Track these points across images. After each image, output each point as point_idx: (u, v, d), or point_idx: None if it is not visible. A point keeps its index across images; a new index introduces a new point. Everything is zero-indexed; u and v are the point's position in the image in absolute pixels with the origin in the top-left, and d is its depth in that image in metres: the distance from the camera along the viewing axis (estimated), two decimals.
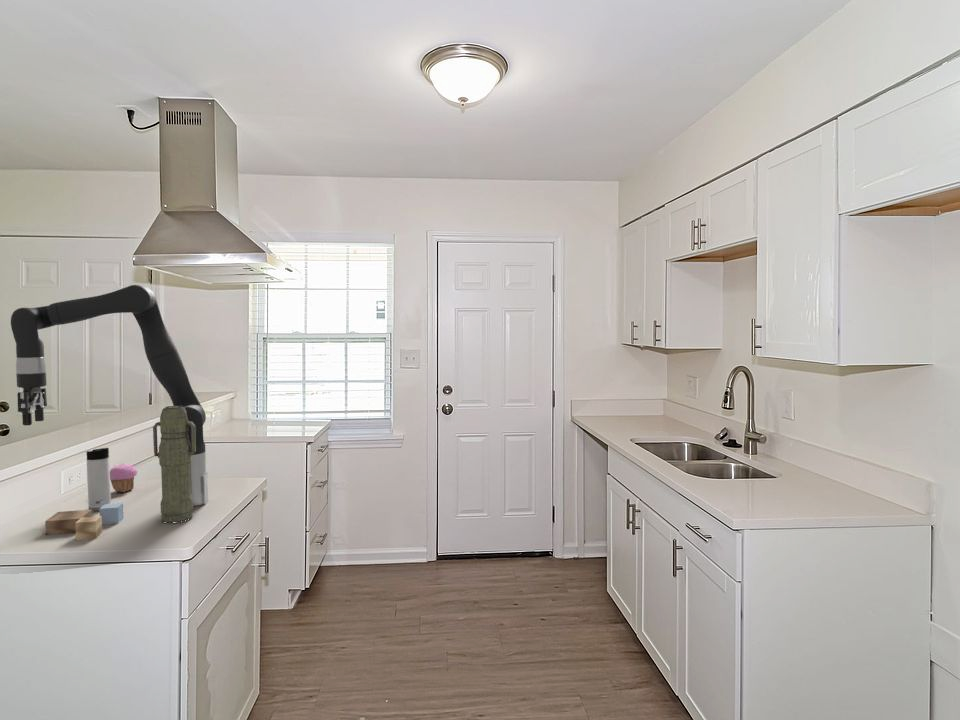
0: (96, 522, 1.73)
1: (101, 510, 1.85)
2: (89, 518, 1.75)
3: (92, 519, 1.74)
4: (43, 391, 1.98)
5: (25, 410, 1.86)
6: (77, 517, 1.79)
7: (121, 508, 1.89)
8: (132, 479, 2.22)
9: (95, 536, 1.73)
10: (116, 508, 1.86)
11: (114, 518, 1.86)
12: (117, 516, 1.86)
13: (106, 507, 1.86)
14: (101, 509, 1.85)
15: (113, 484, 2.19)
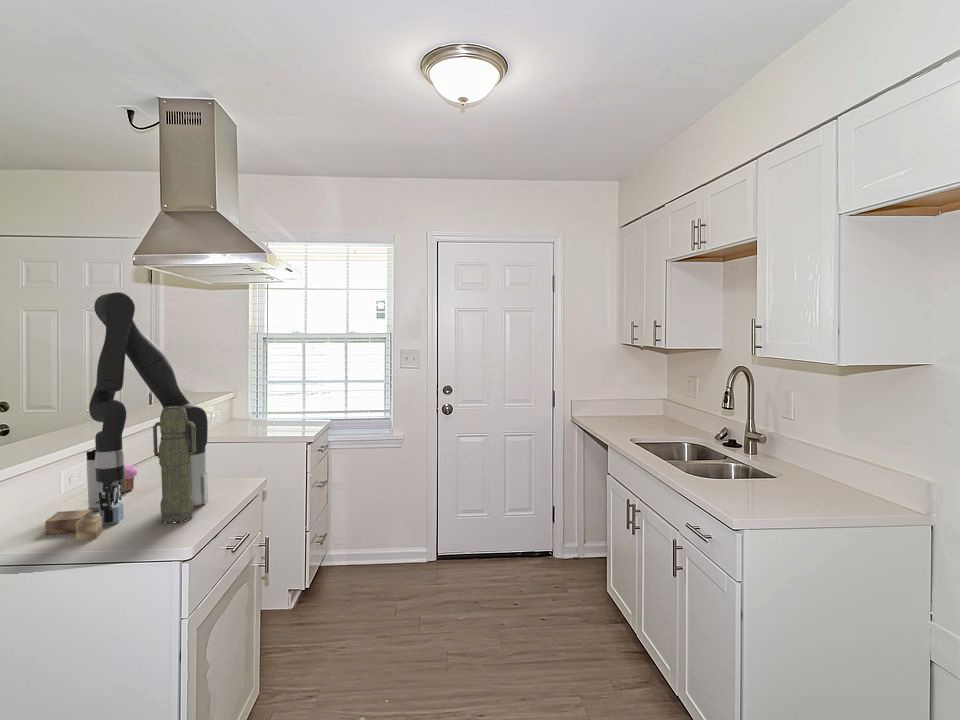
0: (96, 522, 1.73)
1: (101, 510, 1.85)
2: (89, 518, 1.75)
3: (92, 519, 1.74)
4: (119, 484, 1.93)
5: (108, 508, 1.82)
6: (77, 517, 1.79)
7: (121, 508, 1.89)
8: (132, 479, 2.22)
9: (95, 536, 1.73)
10: (116, 508, 1.86)
11: (114, 518, 1.86)
12: (117, 516, 1.86)
13: None
14: None
15: None
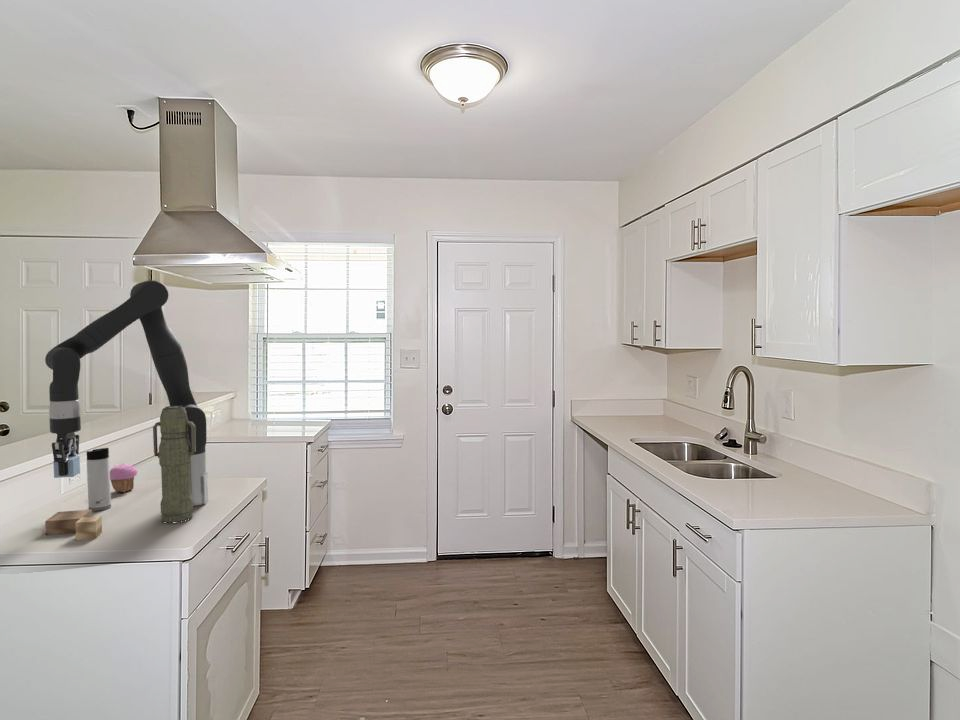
0: (96, 522, 1.73)
1: (55, 462, 1.77)
2: (89, 518, 1.75)
3: (92, 519, 1.74)
4: (76, 437, 1.85)
5: (62, 460, 1.75)
6: (77, 517, 1.79)
7: (77, 461, 1.82)
8: (132, 479, 2.22)
9: (95, 536, 1.73)
10: (71, 460, 1.78)
11: (68, 471, 1.78)
12: (72, 469, 1.78)
13: None
14: None
15: (113, 484, 2.19)
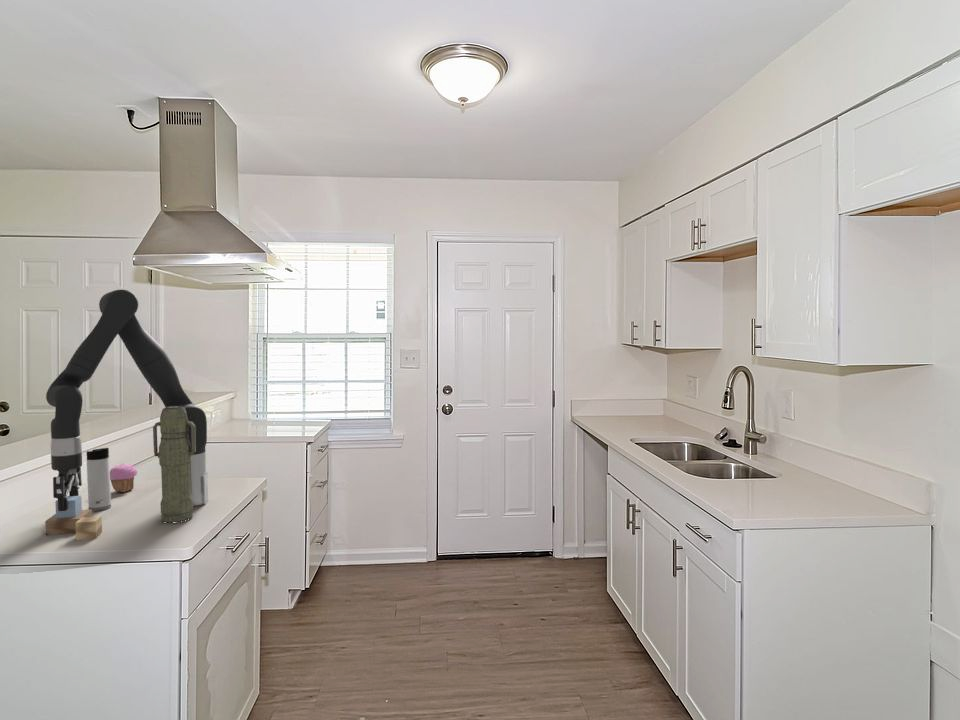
0: (96, 522, 1.73)
1: (57, 503, 1.78)
2: (89, 518, 1.75)
3: (92, 519, 1.74)
4: (78, 470, 1.86)
5: (61, 496, 1.74)
6: (77, 517, 1.79)
7: (79, 501, 1.82)
8: (132, 479, 2.22)
9: (95, 536, 1.73)
10: (73, 501, 1.79)
11: (70, 512, 1.79)
12: (74, 509, 1.79)
13: None
14: (57, 502, 1.78)
15: (113, 484, 2.19)
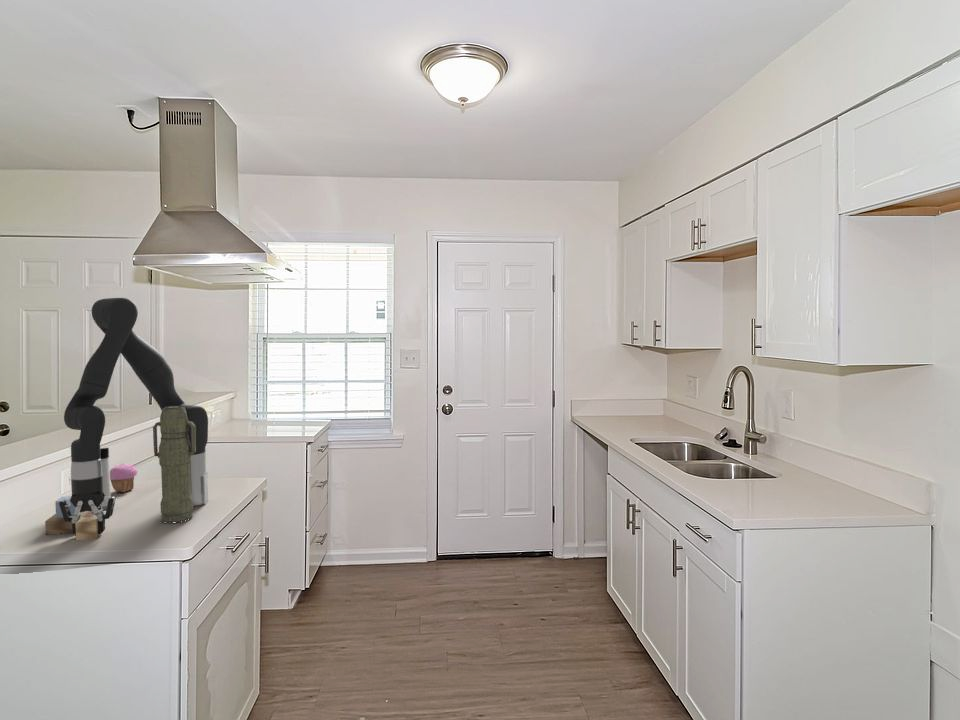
0: (96, 522, 1.73)
1: (57, 503, 1.78)
2: (89, 518, 1.75)
3: (92, 519, 1.74)
4: None
5: None
6: None
7: None
8: (132, 479, 2.22)
9: (95, 536, 1.73)
10: None
11: None
12: (74, 509, 1.79)
13: None
14: (57, 502, 1.78)
15: (113, 484, 2.19)
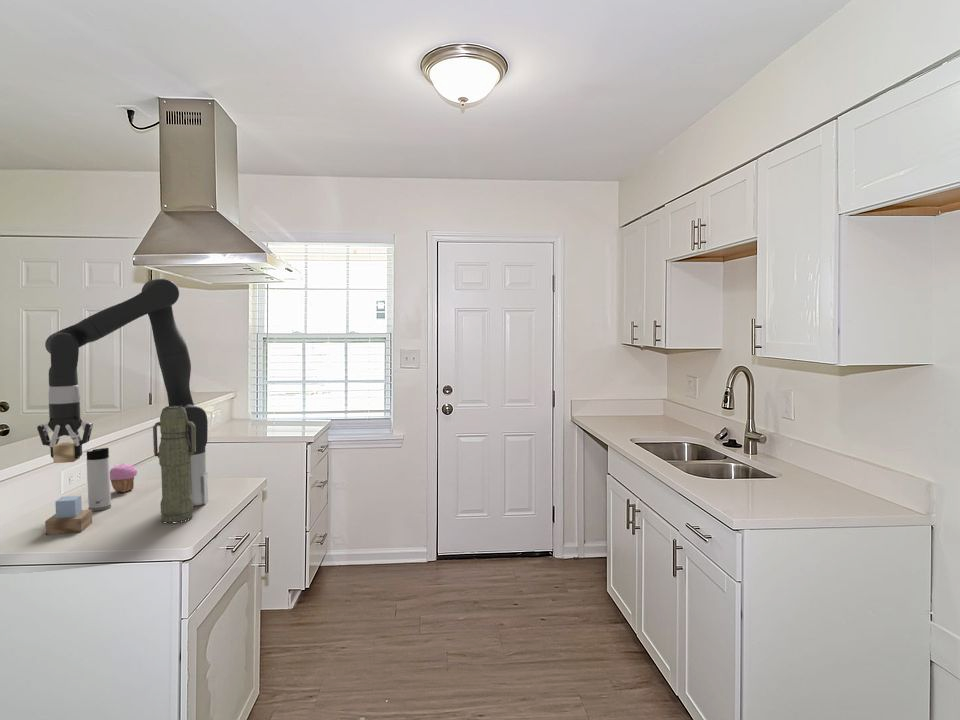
0: (73, 446, 1.78)
1: (57, 503, 1.78)
2: (67, 443, 1.81)
3: (69, 444, 1.80)
4: None
5: None
6: (77, 517, 1.79)
7: (79, 501, 1.82)
8: (132, 479, 2.22)
9: (72, 459, 1.78)
10: (73, 501, 1.79)
11: (70, 512, 1.79)
12: (74, 509, 1.79)
13: (63, 500, 1.79)
14: (57, 502, 1.78)
15: (113, 484, 2.19)
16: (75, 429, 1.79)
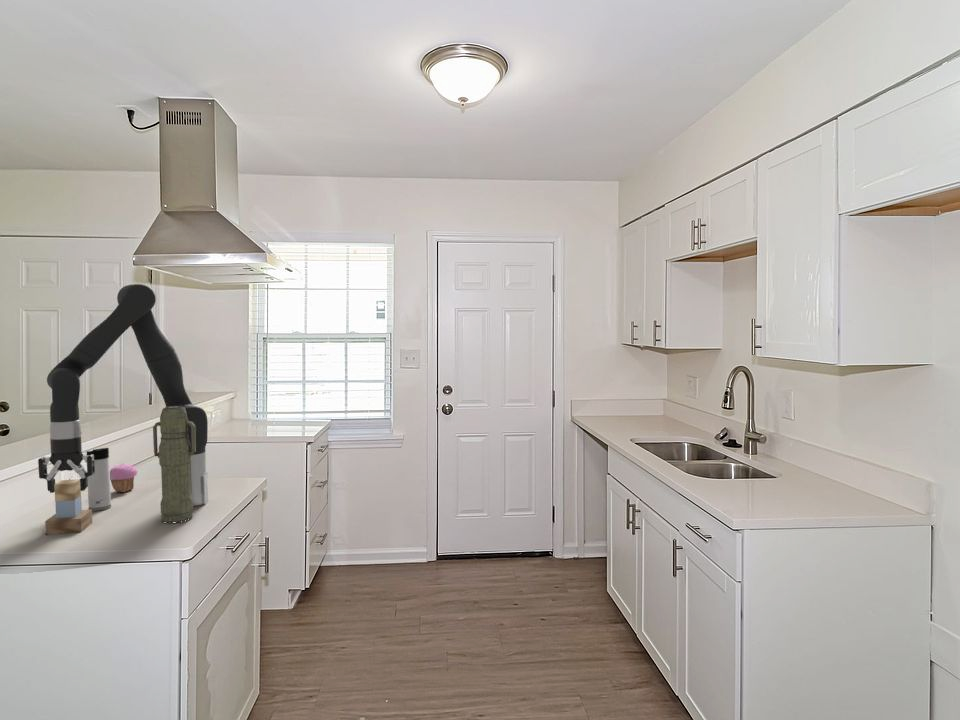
0: (74, 484, 1.79)
1: (57, 503, 1.78)
2: (68, 480, 1.82)
3: (71, 481, 1.80)
4: None
5: None
6: (77, 517, 1.79)
7: (79, 501, 1.82)
8: (132, 479, 2.22)
9: (73, 498, 1.79)
10: (73, 501, 1.79)
11: (70, 512, 1.79)
12: (74, 509, 1.79)
13: None
14: (57, 502, 1.78)
15: (113, 484, 2.19)
16: (77, 462, 1.80)
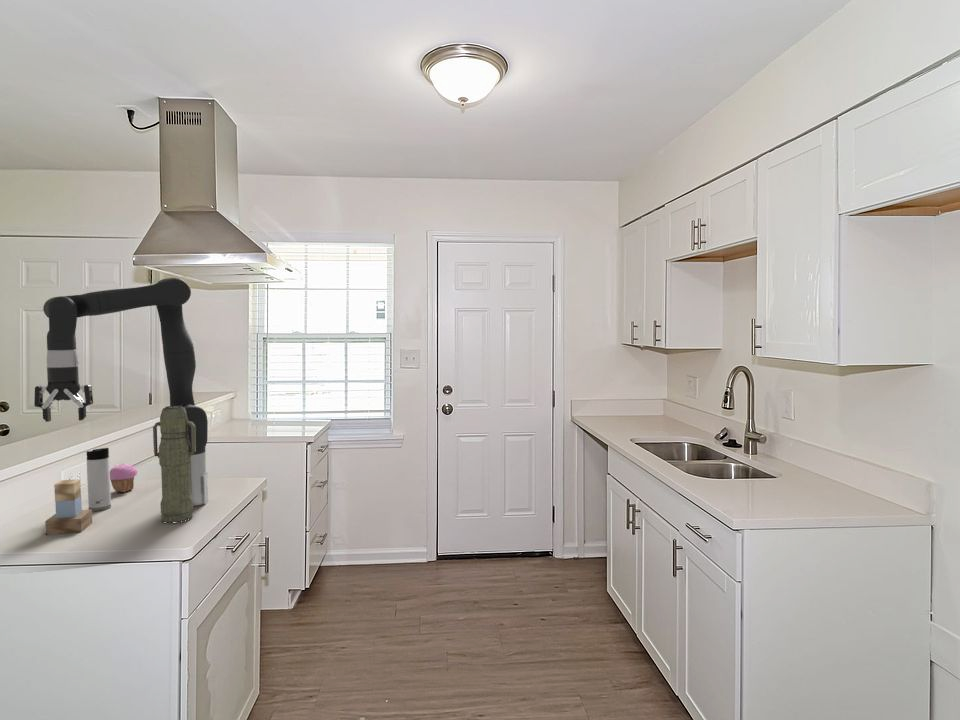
0: (74, 484, 1.79)
1: (57, 503, 1.78)
2: (68, 480, 1.82)
3: (71, 481, 1.80)
4: None
5: None
6: (77, 517, 1.79)
7: (79, 501, 1.82)
8: (132, 479, 2.22)
9: (73, 498, 1.79)
10: (73, 501, 1.79)
11: (70, 512, 1.79)
12: (74, 509, 1.79)
13: None
14: (57, 502, 1.78)
15: (113, 484, 2.19)
16: (74, 392, 1.79)
